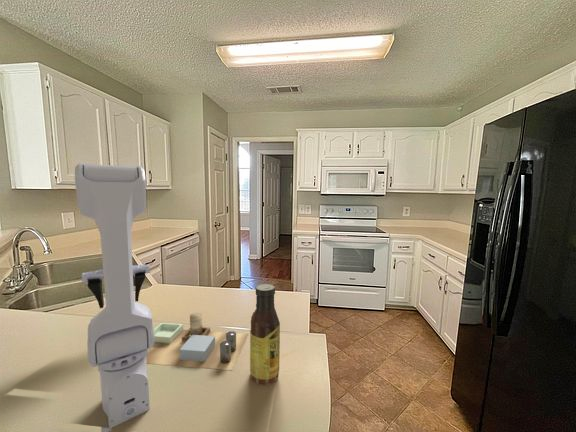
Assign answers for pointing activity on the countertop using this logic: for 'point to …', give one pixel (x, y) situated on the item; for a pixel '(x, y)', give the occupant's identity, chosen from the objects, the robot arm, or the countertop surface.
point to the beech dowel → (196, 323)
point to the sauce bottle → (264, 337)
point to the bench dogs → (227, 347)
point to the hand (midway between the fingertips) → (119, 303)
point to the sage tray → (167, 332)
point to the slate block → (197, 348)
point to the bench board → (171, 356)
